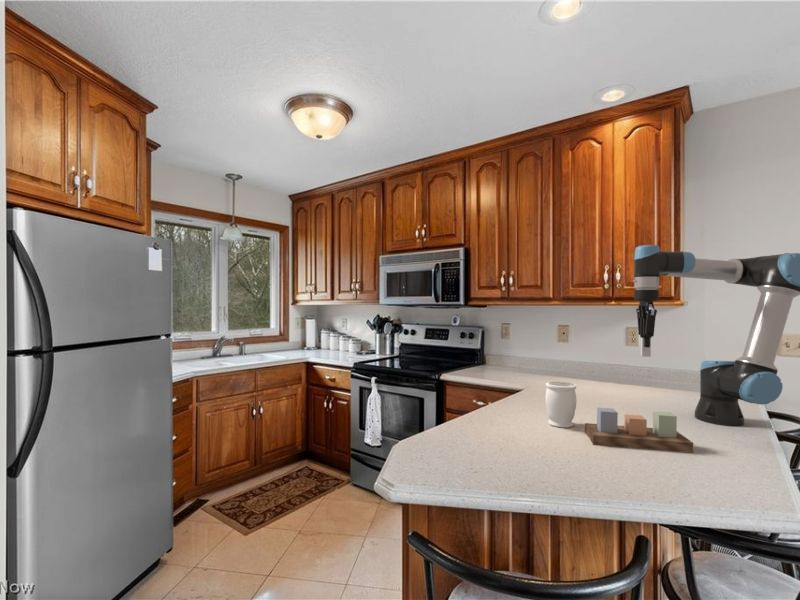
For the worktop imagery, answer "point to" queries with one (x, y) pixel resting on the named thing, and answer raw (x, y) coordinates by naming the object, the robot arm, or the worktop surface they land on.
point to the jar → (560, 403)
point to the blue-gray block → (607, 420)
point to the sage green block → (664, 424)
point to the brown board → (638, 440)
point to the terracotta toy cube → (635, 425)
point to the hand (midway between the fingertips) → (645, 356)
